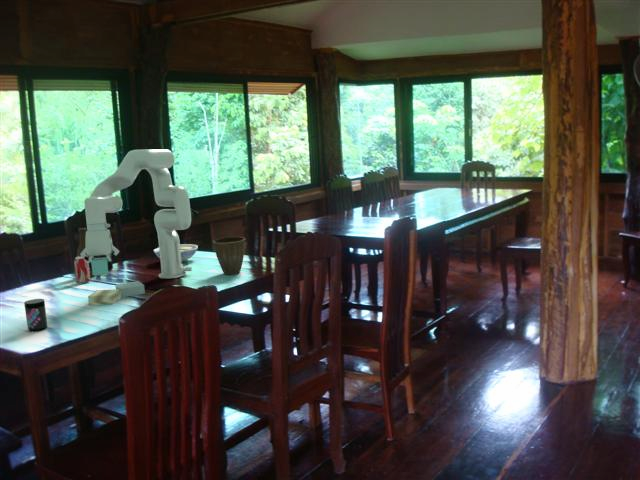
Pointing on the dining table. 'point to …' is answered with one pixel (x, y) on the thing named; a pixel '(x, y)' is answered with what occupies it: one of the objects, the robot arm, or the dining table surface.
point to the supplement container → (36, 315)
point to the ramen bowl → (183, 251)
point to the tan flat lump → (104, 297)
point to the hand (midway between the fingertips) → (101, 270)
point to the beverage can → (82, 270)
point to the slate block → (131, 288)
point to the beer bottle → (83, 246)
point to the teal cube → (100, 266)
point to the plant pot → (230, 254)
